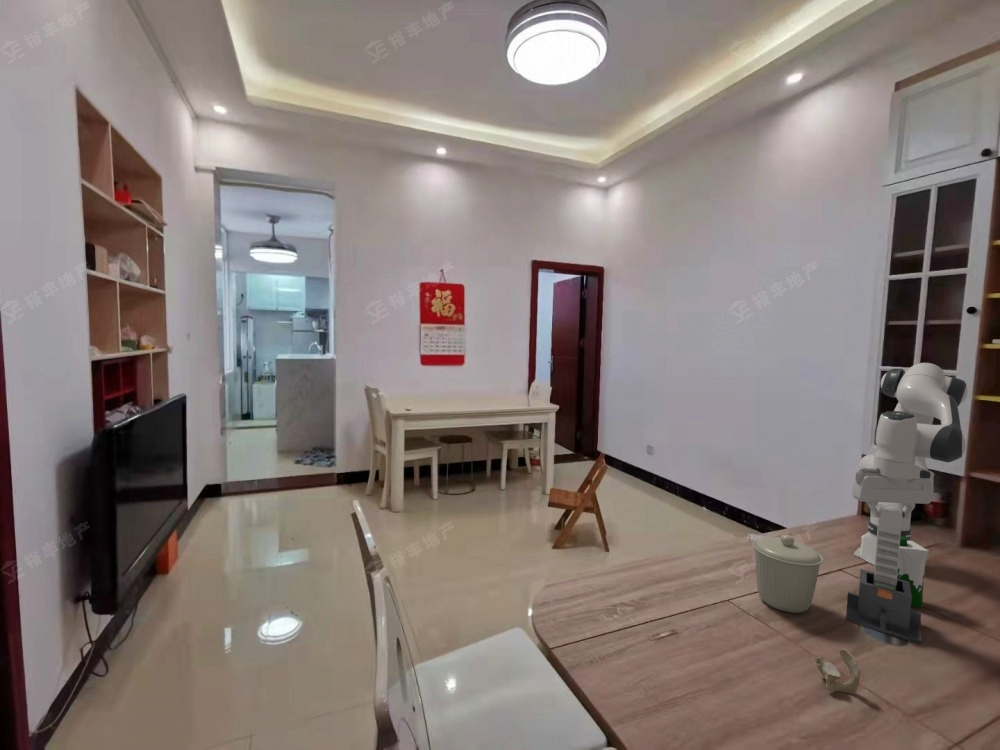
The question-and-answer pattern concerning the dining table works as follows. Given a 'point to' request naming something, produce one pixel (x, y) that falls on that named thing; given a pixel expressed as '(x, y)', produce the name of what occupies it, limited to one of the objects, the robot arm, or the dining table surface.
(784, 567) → the canister
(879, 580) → the column
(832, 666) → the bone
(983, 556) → the dining table surface
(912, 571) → the milk carton
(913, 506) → the robot arm
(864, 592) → the stand
